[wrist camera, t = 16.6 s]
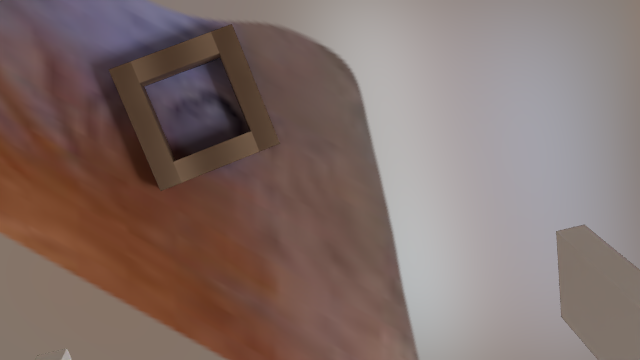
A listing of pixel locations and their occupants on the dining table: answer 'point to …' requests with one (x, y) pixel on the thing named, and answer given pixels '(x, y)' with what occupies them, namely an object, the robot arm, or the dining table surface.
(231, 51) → the frame
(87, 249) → the dining table surface
